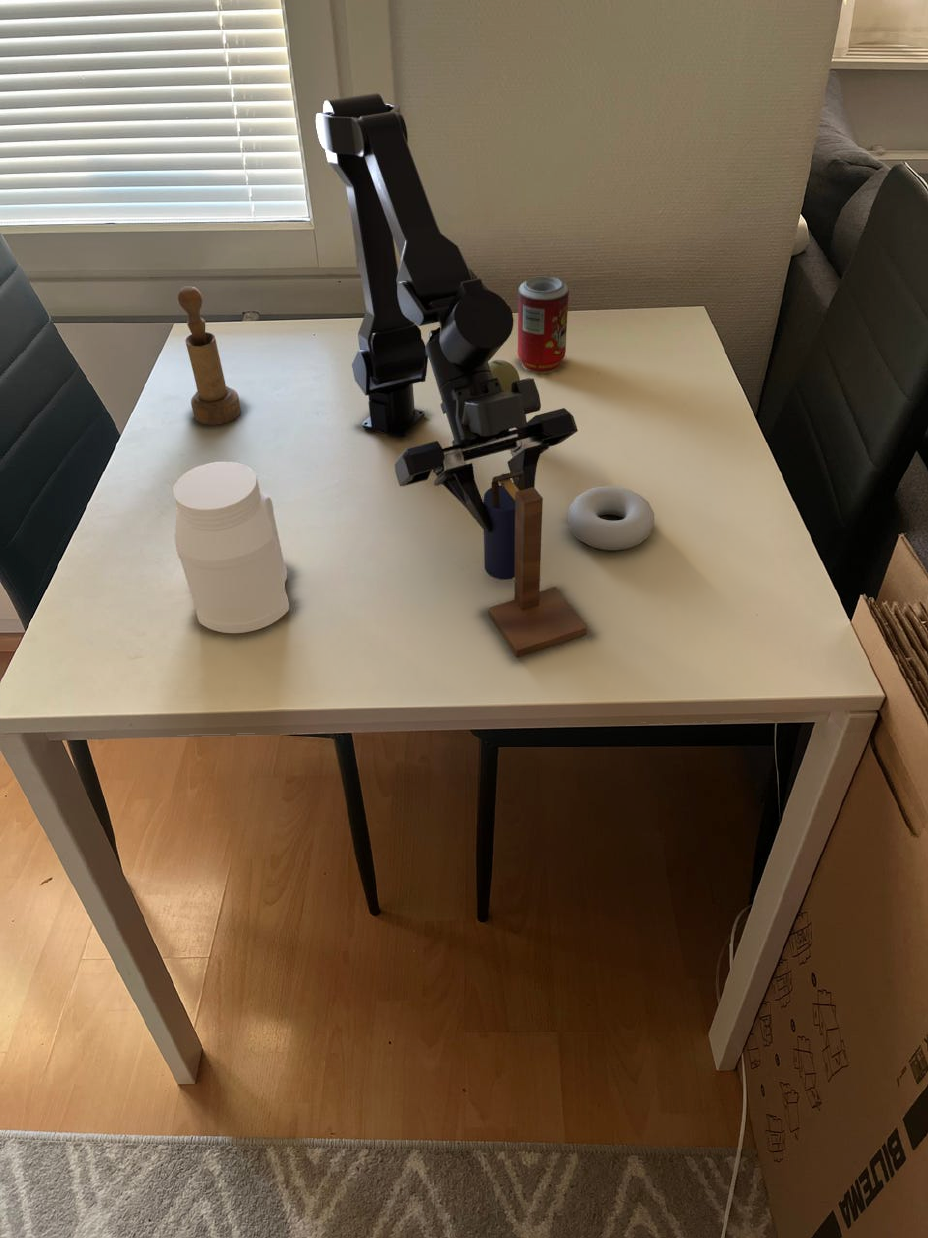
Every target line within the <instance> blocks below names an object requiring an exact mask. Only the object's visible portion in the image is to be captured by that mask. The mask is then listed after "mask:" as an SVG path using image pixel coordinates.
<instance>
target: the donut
mask: <svg viewBox="0 0 928 1238" xmlns="http://www.w3.org/2000/svg"><path fill="white" fill-rule="evenodd" d="M606 515H607V516H616V517H619V518H622V519H620V520H607V519H604V518H601V516H606ZM567 523H568V526H569V528H570V531H571V532H572V534H574V536H575V537H576V538H577V539H578V540H579V541H581V542H583V543H585V545H588V546H589V547H591V548H596V549H600V550H602V551H603V550H604V551H621V550H627V549H630V548H632V547H635V546H638V545H640V544H641V543H642V542H644V541H645V540H646V539H647V538H648V537H649V536H650V534H651V533H652V531H653V530H654V527H655V513H654V510H653V507H652V506H651V504H650V502H649V501H648V500H646V498H645V497H643V496H642V495H641V494H639V493H637V492H635V491H634V490H631V489H629V488H625V487H622V486H621V487H620V486H613V485H612V486H611V485H607V486H597V487H594V488H592V489H588V490H586V491H584V492H582V493H581V494H579V495H577V496H576V498H575V499H574V500H573V502H572V503H571V504H570V506H569V508H568V513H567Z"/></svg>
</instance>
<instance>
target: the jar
mask: <svg viewBox="0 0 928 1238" xmlns="http://www.w3.org/2000/svg"><path fill="white" fill-rule="evenodd" d="M172 496H173V499H174V503H175V506H176V514H175V515H176V516H175V528H174V529H175V530H174V543H175V548H176V549H175V551H176V553H177V556H178V559H179V560H180V563H181V566H182V569H183V573H184V576H185V579H186V582H187V585H188V589H189V592H190V595H191V598H192V602H193V605H194V608H195V611H196V617H197V620H198V623H199V624H201V626H203V627H205V628H206V629H209V630H211V631H215V632H218V633H224V634H244V633H250V632H255V631H257V630H260V629H263V628H266V627H268V626H270V625H272V624H274V623H275V622H277V621H279V620H280V619H281V618H282V617H284V616H285V615H286V614H287V613H288V612H289V610H290V602H289V601H290V600H289V597H288V594H287V591H286V581H287V579H288V571H287V567H286V562H285V561H284V556H283V555H284V554H283V552H282V551H283V550H282V546H281V541H280V537H279V532H278V527H277V523H276V517H275V514H274V505H273V500H272V499H271V497H269V496H268V495H266V494H265V493H264V492H262V491H261V490H260V485H259V482H258V478H257V475H256V473H255V472H254V470H252V468H250V467H248V466H247V465H245V464H242V463H239V462H235V461H215V462H209V463H205V464H202V465H199V466H196V467H194V468H192V469H189V470H188V471H186V472H184V474H182V475H181V476H180V477H179V478H178V479H177V480H176V482H175V484H174V486H173V489H172Z"/></svg>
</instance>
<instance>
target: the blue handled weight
mask: <svg viewBox="0 0 928 1238" xmlns="http://www.w3.org/2000/svg"><path fill="white" fill-rule="evenodd" d="M502 474H503V475H501V474H500V475H495V476H493V477H492V479H491V487H489V489H487V490H486V491H485V492H484V494H483V497H482V500H483V503H484V506H485V508H486V511H487V513H488V516H489V519H490V523H491V527H492V532H490V533H486V532H485V531H484V530H483V567H484V571H485V572H486V574H487V575H489V576H490V577H491V578H494V579H496V580H501V581H503V580H505V581H507V580H513V579H515V500H514V499H513V498H512V497H511V495H510V494H509V493H508V492H507V490H506V489H505V488H504V487H503V485H501V484H500V483H499V482H501V481H504V480H508V479H511V480H512V478H515V477H517V488H518V489H519V490H520V491H521V490H524V475H523V474H524V472H523V470H518V471H514V472H510V471H509V472H507V473H502Z"/></svg>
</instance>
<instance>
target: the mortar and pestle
mask: <svg viewBox="0 0 928 1238" xmlns="http://www.w3.org/2000/svg"><path fill="white" fill-rule="evenodd" d="M177 300H178V304H179V306H180V307H181V308H182V309H183V310H184V311H185V313H187V315H188V321H187V322H186V324H187V328H188V330H189V331H190V333H191V334H189V335H188V336H187V337H186V338H185V340H184V341H185V345H186V350H187V353H188V357H189V361H190V365H191V368H192V373H193V378H194V382H195V386H196V392H195V394H193V396H192V397H191V399H190V406H191V409H192V413H193V417H194V419H195V420H196V421H197V422H199V423H200V424H203V425H212V426H213V425H222V424H225V423H228V422H230V421H232V420H234V419H236V418H237V417H238V416H239V415H240V414H241V411H242V407H241V402H240V397H239V394H238V392H237V390H235V389H234V388H232V387H229V386H227V384H226V380H225V375H224V371H223V366H222V362H221V358H220V352H219V347H218V343H217V339H216V336H215V334H213V333H211V332H208V331H206V319H204V318H202V317H201V316H200V315H201V310H202V306H203V301H204V300H203V295H202V293H201V292H200V290H199V289H198V288H197V287H195V286H191V285H188V286H184V287H182V288H181V289H180V290H179V292H178V294H177Z"/></svg>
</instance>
